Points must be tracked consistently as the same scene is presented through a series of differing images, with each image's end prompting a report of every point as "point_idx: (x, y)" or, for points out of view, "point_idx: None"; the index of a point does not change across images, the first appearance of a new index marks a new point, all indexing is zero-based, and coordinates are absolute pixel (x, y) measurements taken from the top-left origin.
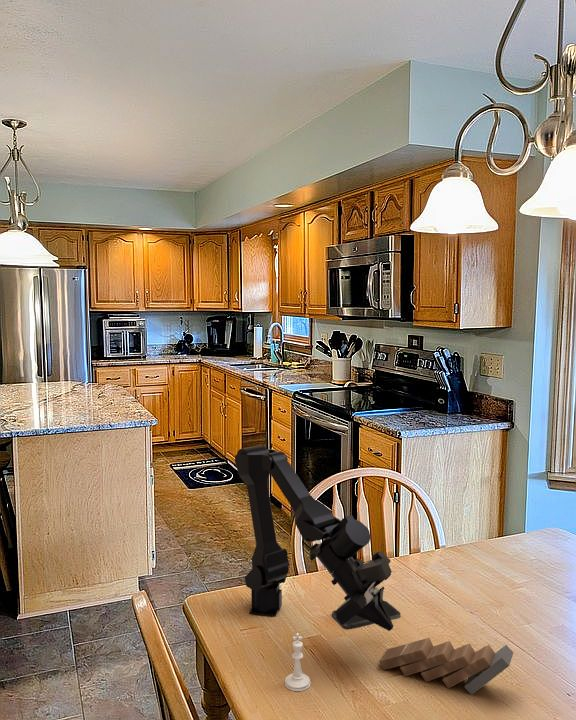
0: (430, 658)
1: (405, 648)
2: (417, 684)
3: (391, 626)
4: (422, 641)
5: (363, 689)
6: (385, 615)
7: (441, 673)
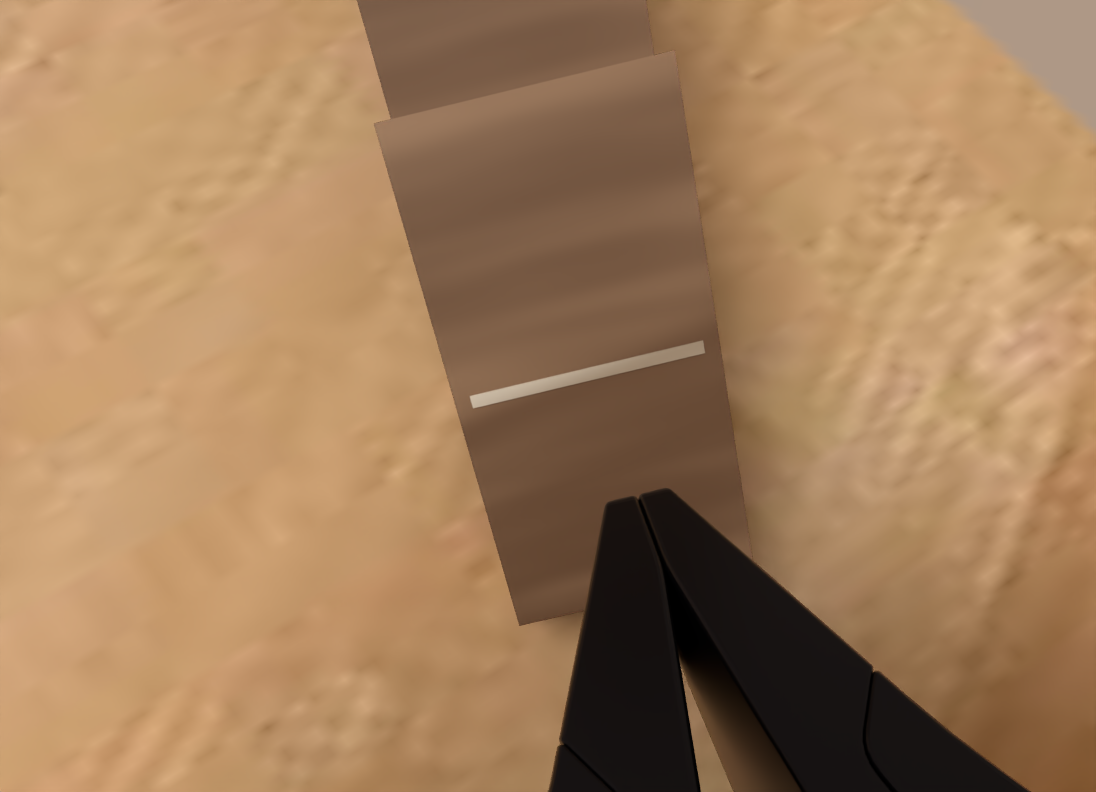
0: (644, 18)
1: (566, 367)
2: (702, 216)
3: (679, 498)
4: (456, 184)
5: (1071, 501)
6: (731, 648)
7: None
